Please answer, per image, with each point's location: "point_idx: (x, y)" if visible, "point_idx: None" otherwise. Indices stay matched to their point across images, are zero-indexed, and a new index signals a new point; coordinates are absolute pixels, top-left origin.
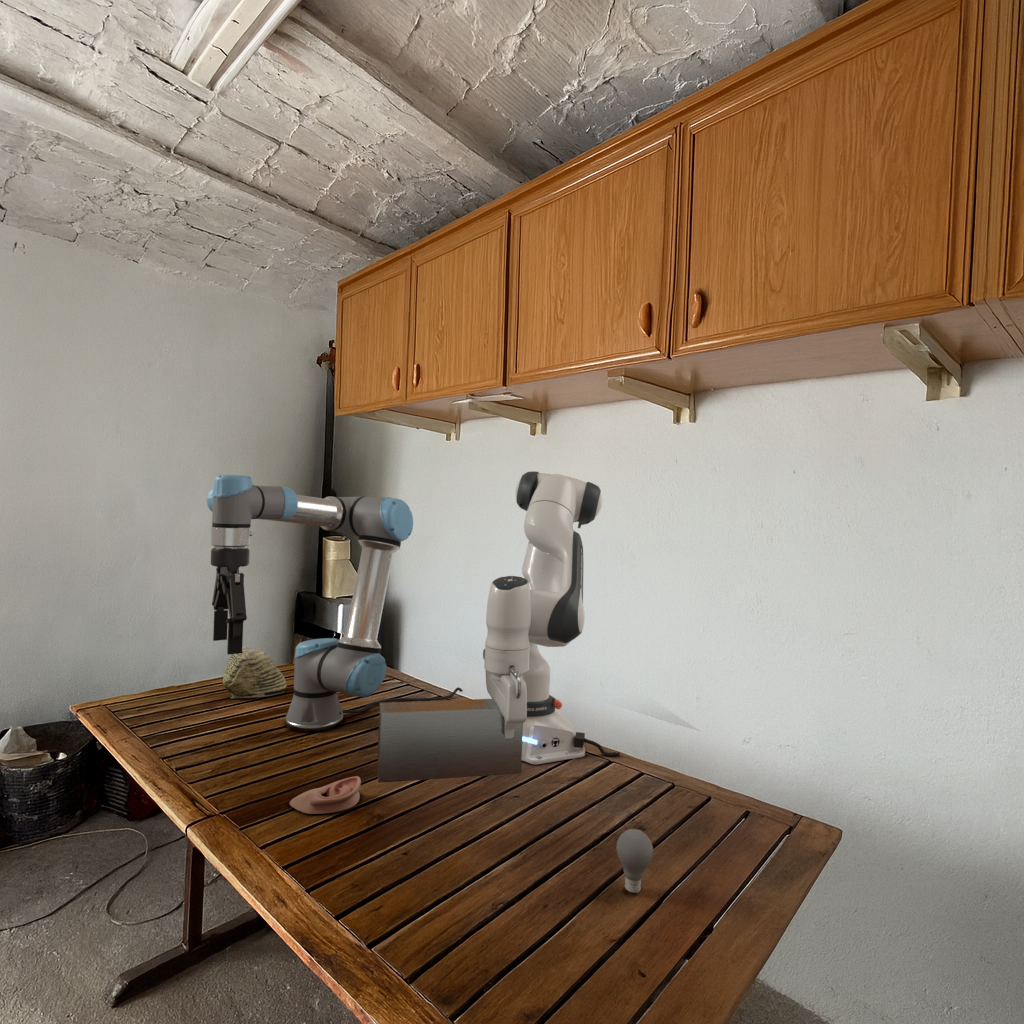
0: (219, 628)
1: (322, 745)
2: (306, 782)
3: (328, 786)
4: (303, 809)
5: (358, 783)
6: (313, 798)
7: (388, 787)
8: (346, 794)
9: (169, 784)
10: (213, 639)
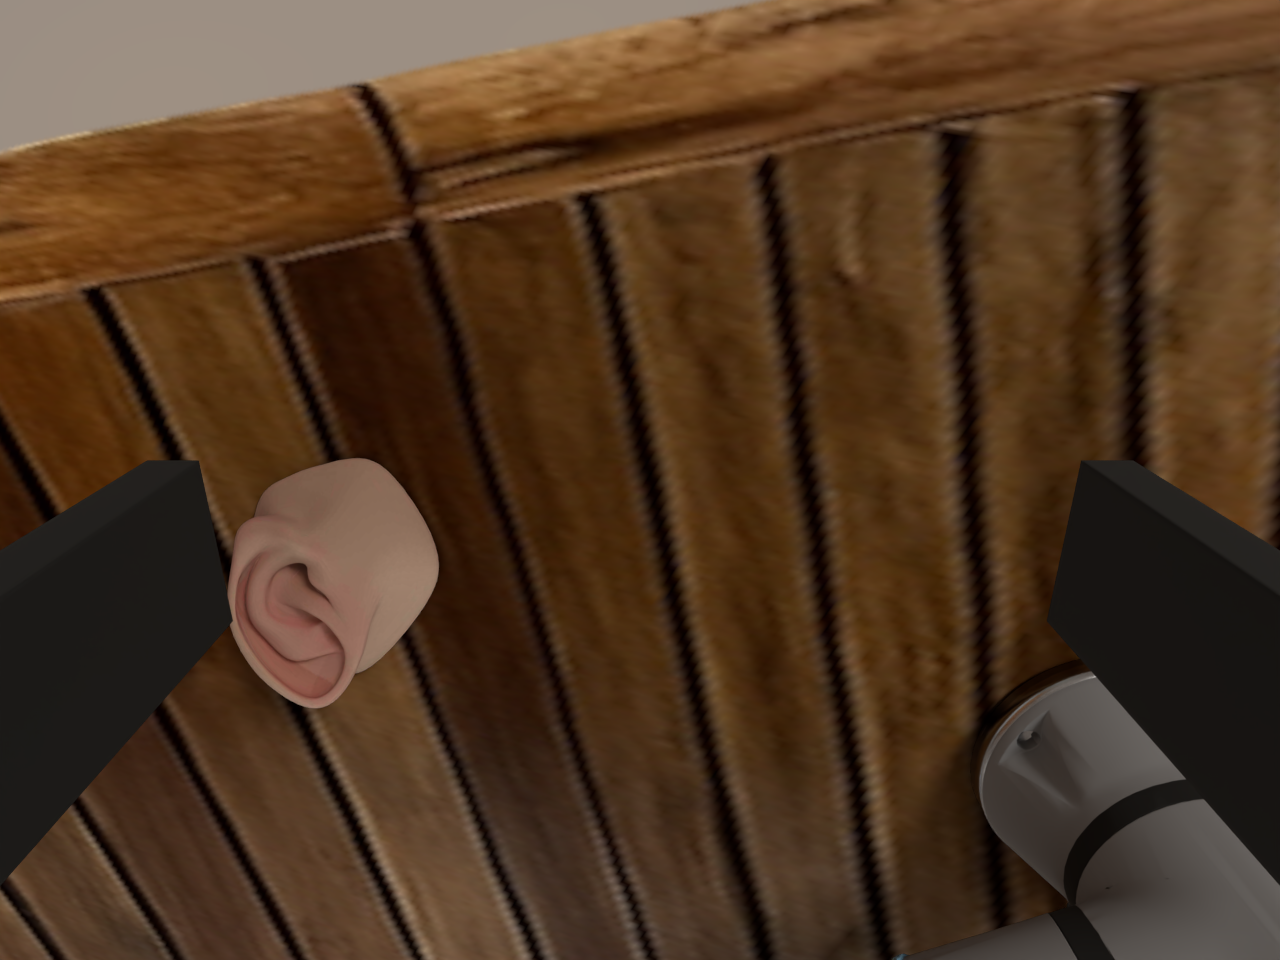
0: (1178, 620)
1: (835, 706)
2: (531, 560)
3: (336, 602)
4: (283, 485)
5: (277, 689)
6: (256, 529)
7: (365, 760)
8: (260, 632)
9: (803, 76)
10: (1117, 466)
